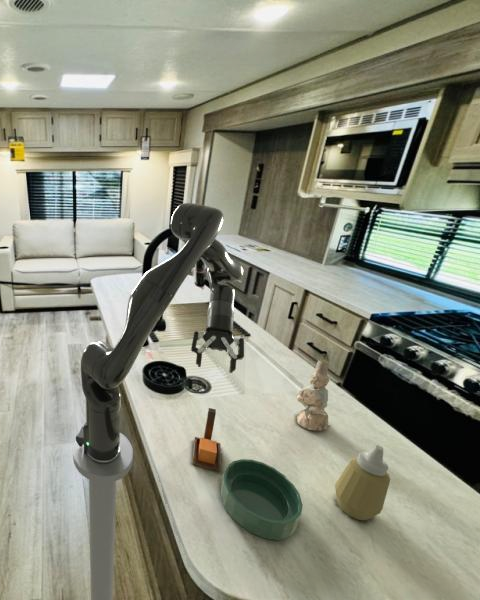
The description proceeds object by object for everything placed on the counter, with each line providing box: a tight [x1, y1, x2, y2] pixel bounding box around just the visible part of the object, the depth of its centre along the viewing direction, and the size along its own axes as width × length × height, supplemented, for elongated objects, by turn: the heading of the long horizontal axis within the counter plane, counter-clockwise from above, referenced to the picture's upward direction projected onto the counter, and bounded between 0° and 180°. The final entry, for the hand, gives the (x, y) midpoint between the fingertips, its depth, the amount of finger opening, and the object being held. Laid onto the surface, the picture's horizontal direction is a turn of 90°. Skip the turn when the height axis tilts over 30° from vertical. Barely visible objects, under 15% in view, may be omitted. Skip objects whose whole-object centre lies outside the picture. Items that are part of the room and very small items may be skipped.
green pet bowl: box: [220, 458, 303, 541], centre depth 70 cm, size 15×15×6 cm
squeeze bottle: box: [334, 445, 391, 521], centre depth 67 cm, size 8×8×18 cm
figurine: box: [296, 360, 331, 431], centre depth 90 cm, size 9×8×20 cm
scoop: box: [192, 407, 222, 473], centre depth 82 cm, size 9×7×12 cm
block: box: [198, 437, 218, 464], centre depth 82 cm, size 4×4×4 cm
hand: (214, 369), depth 90 cm, fingers open, 8 cm apart
